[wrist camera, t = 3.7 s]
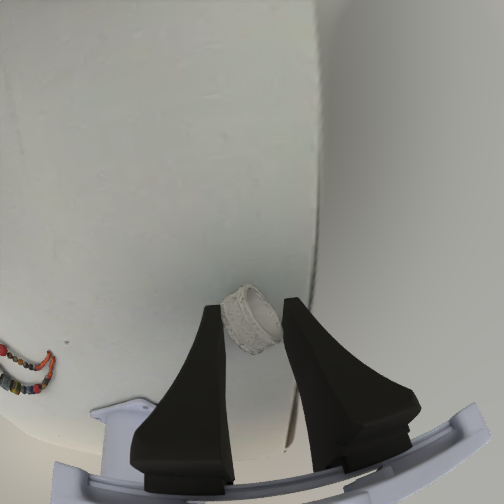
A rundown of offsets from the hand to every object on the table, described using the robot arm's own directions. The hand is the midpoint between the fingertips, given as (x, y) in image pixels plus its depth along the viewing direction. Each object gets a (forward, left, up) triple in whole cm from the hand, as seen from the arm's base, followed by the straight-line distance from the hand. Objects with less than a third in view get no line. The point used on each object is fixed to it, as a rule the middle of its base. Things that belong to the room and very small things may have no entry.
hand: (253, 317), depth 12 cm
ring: (0, 0, -2) cm, 2 cm away
